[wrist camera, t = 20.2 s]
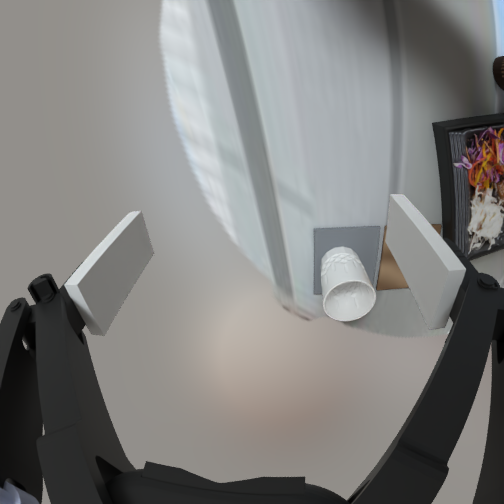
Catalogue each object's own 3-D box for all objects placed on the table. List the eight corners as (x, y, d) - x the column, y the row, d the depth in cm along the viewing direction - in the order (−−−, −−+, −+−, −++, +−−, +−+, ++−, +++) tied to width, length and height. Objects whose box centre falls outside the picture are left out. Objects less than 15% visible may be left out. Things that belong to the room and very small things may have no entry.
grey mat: (313, 228, 46) (314, 230, 46) (379, 225, 45) (380, 227, 45) (313, 292, 53) (313, 294, 53) (371, 288, 52) (371, 290, 51)
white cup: (333, 235, 46) (344, 271, 38) (370, 255, 47) (386, 293, 39) (308, 270, 50) (312, 310, 42) (344, 287, 51) (353, 327, 43)
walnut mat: (384, 225, 45) (385, 227, 44) (440, 224, 43) (441, 225, 43) (376, 288, 52) (376, 290, 51) (426, 283, 50) (427, 285, 50)
